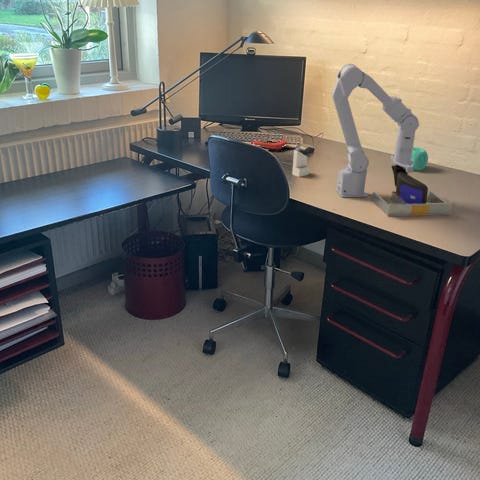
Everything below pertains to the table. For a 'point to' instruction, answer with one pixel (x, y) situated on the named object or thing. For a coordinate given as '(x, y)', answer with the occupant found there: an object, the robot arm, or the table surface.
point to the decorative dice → (419, 158)
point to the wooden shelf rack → (413, 206)
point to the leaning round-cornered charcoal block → (411, 189)
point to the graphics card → (271, 144)
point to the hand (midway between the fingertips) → (398, 186)
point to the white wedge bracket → (300, 164)
